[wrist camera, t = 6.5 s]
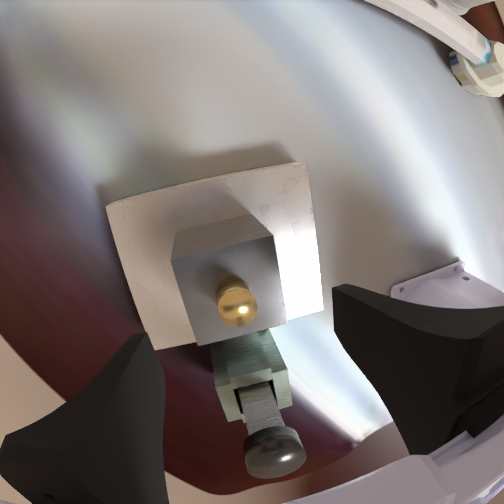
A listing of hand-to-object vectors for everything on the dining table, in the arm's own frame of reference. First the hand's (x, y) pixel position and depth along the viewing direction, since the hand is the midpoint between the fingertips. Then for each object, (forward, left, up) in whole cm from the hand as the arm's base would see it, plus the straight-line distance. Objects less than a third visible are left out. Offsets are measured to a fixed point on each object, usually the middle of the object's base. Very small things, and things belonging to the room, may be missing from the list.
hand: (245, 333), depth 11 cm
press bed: (0, +3, -10) cm, 10 cm away
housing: (0, 0, -8) cm, 8 cm away
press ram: (0, +8, -7) cm, 11 cm away
